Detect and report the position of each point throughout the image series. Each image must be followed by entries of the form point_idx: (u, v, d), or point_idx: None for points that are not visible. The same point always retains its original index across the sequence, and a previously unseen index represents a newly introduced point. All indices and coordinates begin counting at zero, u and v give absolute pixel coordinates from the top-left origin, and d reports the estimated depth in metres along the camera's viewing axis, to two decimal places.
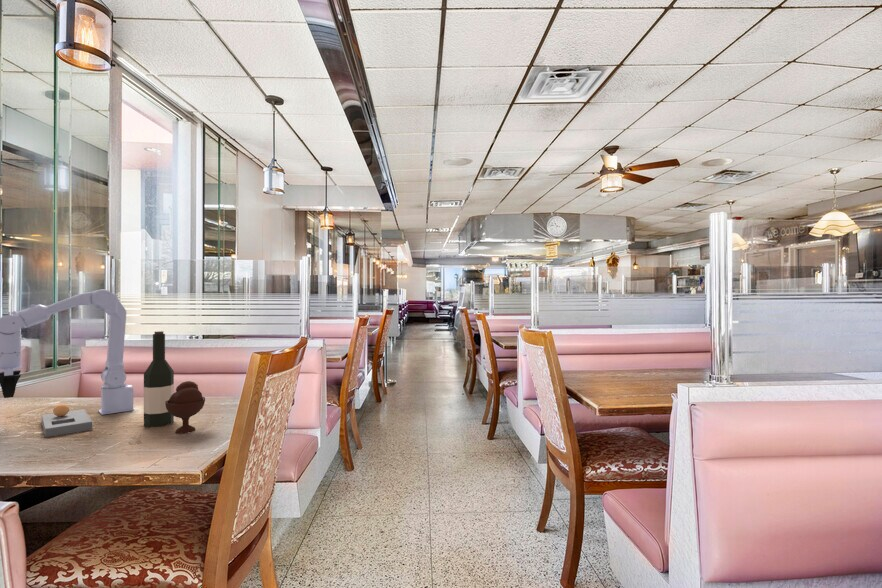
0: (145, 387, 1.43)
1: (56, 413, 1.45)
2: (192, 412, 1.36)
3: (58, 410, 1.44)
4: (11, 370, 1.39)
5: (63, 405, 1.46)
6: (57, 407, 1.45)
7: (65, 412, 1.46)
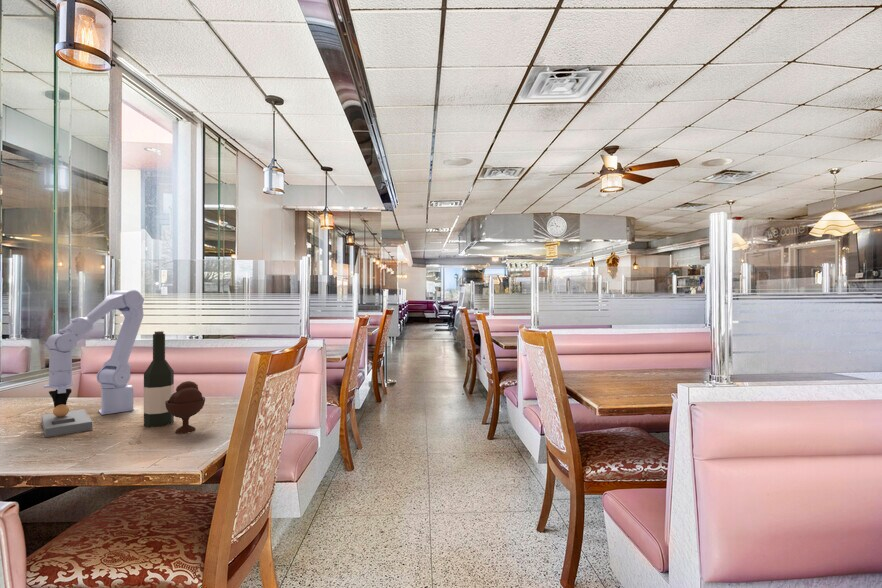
0: (145, 387, 1.43)
1: (56, 415, 1.44)
2: (192, 412, 1.36)
3: (57, 413, 1.44)
4: (64, 388, 1.43)
5: (63, 407, 1.45)
6: (57, 409, 1.44)
7: (65, 413, 1.46)
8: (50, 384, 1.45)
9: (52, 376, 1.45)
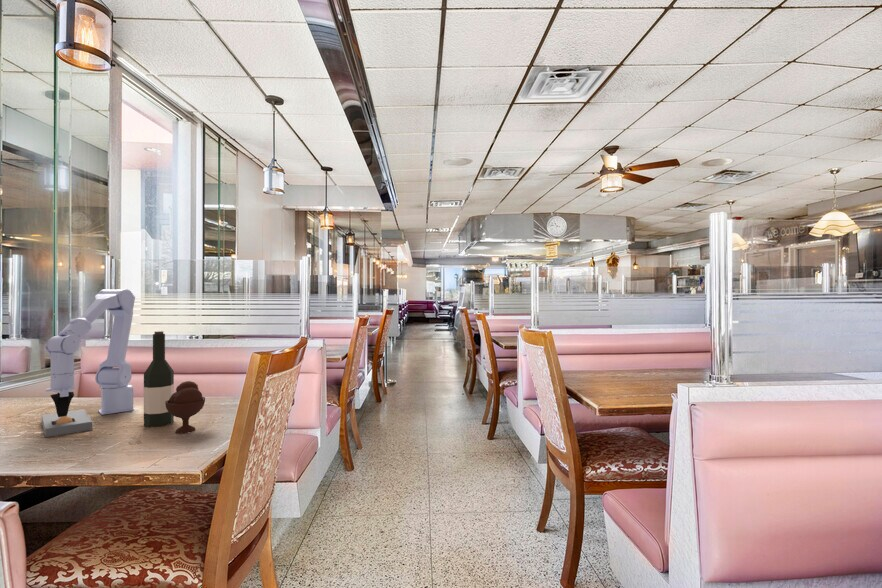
0: (145, 387, 1.43)
1: (60, 419, 1.39)
2: (192, 412, 1.36)
3: (62, 417, 1.40)
4: (67, 391, 1.38)
5: None
6: None
7: (69, 418, 1.41)
8: (52, 387, 1.41)
9: (54, 379, 1.40)
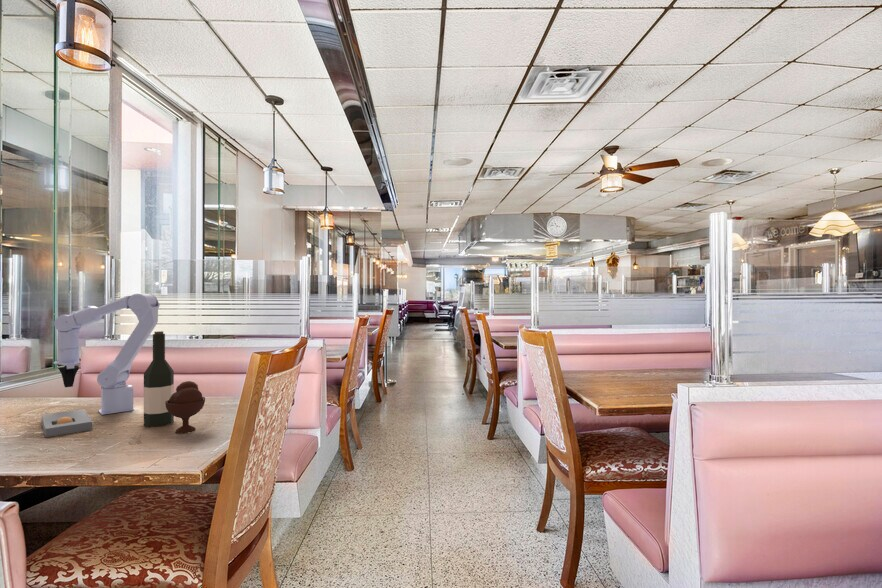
0: (145, 387, 1.43)
1: (61, 422, 1.38)
2: (192, 412, 1.36)
3: (62, 419, 1.39)
4: (72, 364, 1.55)
5: (67, 417, 1.41)
6: (61, 418, 1.39)
7: (70, 421, 1.40)
8: (59, 361, 1.57)
9: (61, 353, 1.57)
